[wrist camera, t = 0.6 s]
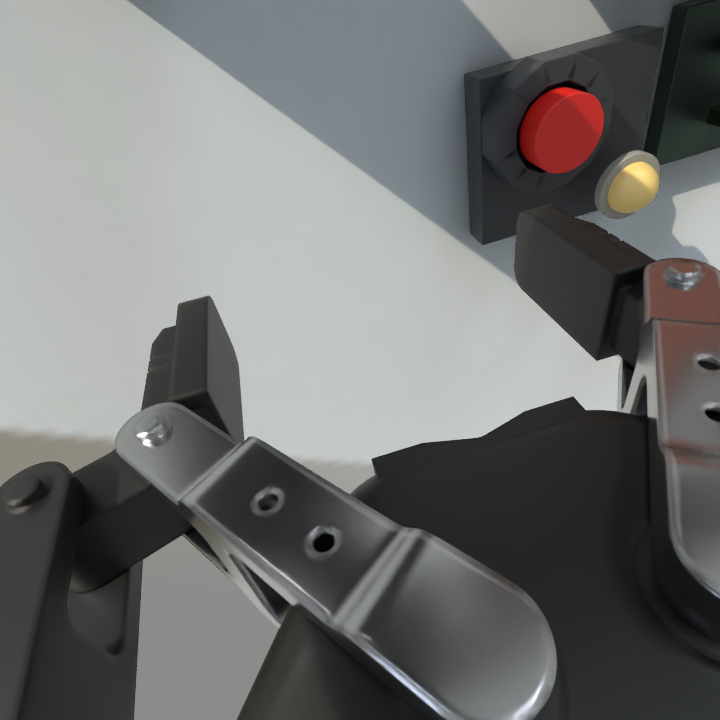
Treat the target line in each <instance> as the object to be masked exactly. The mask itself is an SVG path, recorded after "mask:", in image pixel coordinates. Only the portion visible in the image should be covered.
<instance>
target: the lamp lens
mask: <svg viewBox="0 0 720 720" xmlns="http://www.w3.org/2000/svg"><path fill="white" fill-rule="evenodd" d="M659 178H660V164H659V162H658V160H657V158H656V157H655V156H654V155H652V154H650V153H647V152H645V151H639V150H637V151H631V152H628V153H625V154H623V155H621V156H620V157H618V158H617V159H616V160H614V161H613V162H612V163H611V164H610V165H609V166H608V167H607V168H606V170H605V171H604V172H603V174H602V175H601V177H600V179H599V181H598V183H597V186H596V190H595V197H594V198H595V205H596V207H597V209H598V210H599V212H600V213H602V214H603V215H605V216H607V217H609V218H613V219H620V218H624V217H627V216H629V215H631V214H633V213H635V212H636V211H639V210H641V209H643V208H644V207H646V206H647V205H648V204H650V203H651V201H652V200H653V199H654V198H655V196H656V194H657V192H658V189H659Z"/></svg>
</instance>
